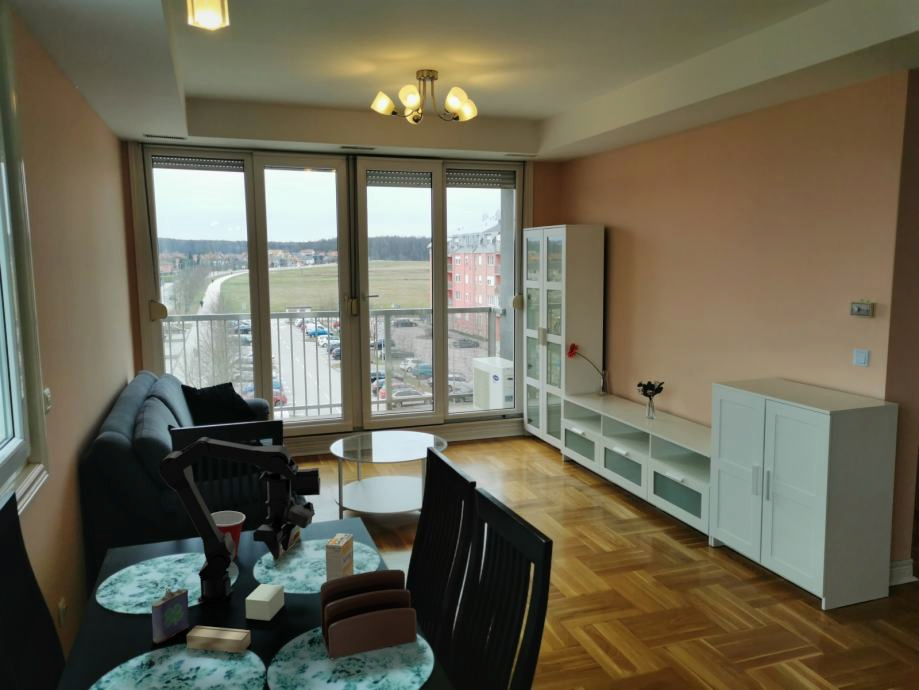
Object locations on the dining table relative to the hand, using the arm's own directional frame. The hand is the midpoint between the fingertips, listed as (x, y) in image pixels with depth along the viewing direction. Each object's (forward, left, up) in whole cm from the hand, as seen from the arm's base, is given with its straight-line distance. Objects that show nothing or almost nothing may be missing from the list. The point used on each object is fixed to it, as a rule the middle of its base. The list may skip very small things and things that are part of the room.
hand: (281, 554), depth 175 cm
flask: (-17, -23, -10) cm, 30 cm away
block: (0, -10, -10) cm, 14 cm away
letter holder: (+29, -18, -10) cm, 36 cm away
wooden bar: (-3, -26, -10) cm, 28 cm away
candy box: (-10, +26, -10) cm, 30 cm away
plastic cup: (-25, +18, -10) cm, 32 cm away
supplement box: (+14, +5, -10) cm, 18 cm away
